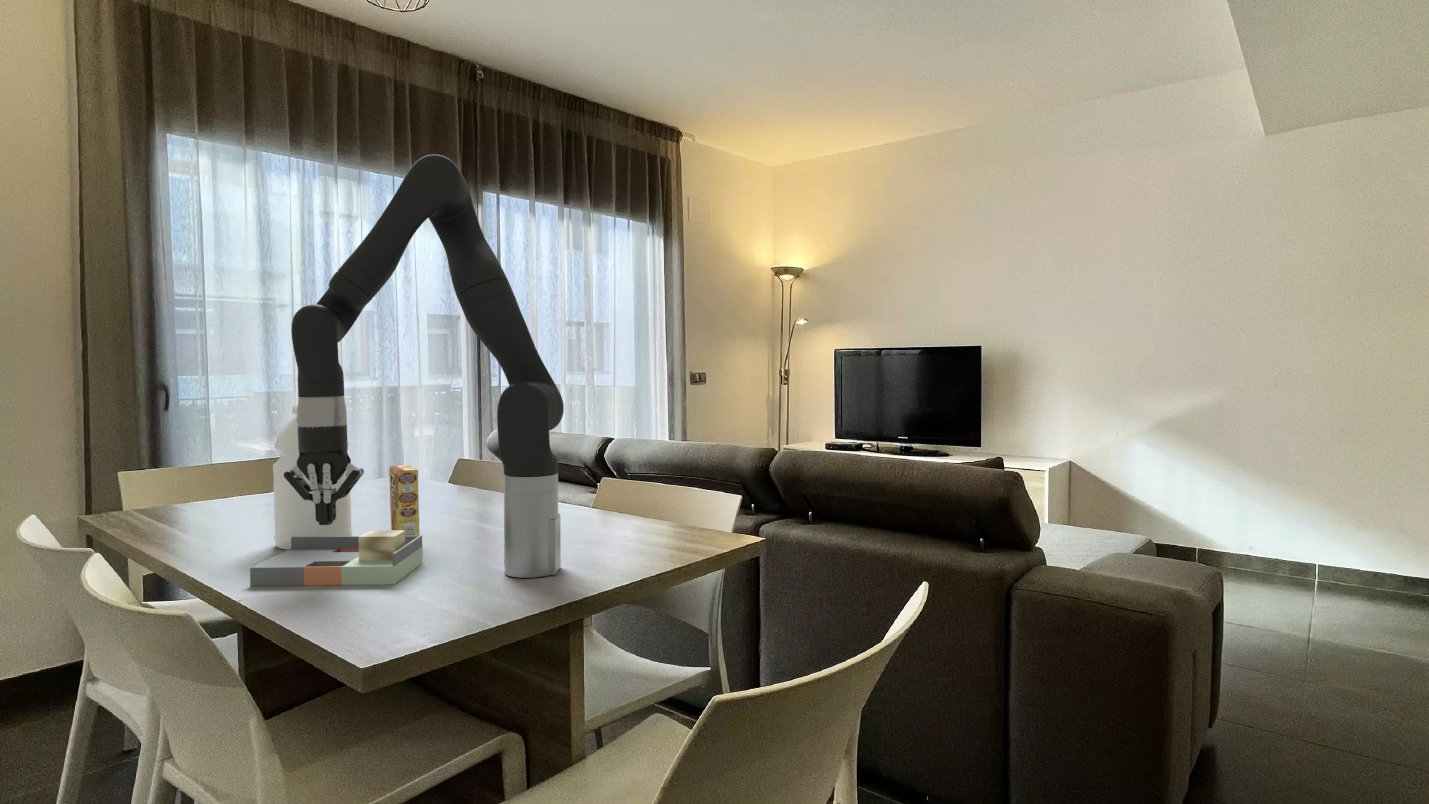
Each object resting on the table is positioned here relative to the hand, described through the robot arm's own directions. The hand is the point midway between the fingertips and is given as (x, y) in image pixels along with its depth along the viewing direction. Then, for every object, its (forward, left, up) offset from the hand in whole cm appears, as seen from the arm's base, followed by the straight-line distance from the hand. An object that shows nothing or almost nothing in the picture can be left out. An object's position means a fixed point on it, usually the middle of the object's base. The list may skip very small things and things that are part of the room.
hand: (326, 524), depth 131 cm
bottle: (+13, -24, -9) cm, 29 cm away
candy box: (-5, -24, -9) cm, 26 cm away
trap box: (-2, 0, -9) cm, 9 cm away
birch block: (-9, 0, -6) cm, 11 cm away
